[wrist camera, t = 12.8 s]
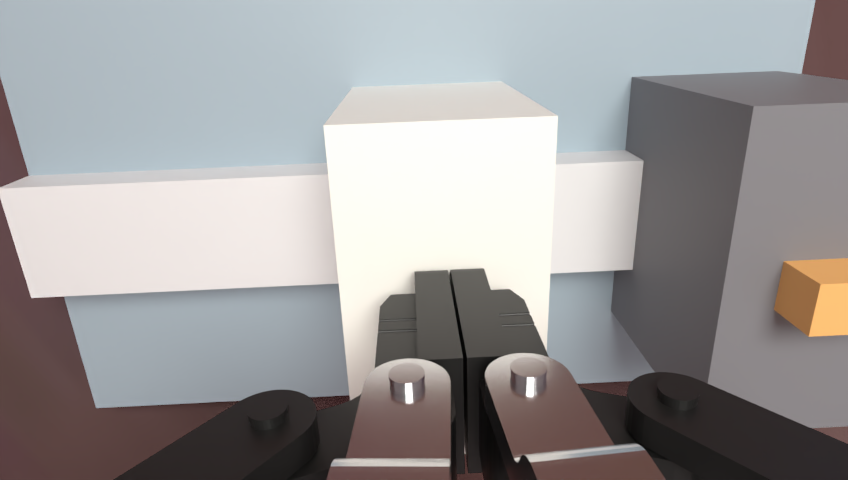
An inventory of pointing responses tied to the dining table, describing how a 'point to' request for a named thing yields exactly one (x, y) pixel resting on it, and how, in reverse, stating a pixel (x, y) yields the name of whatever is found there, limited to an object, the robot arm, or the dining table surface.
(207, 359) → the rail board
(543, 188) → the din module
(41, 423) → the dining table surface
